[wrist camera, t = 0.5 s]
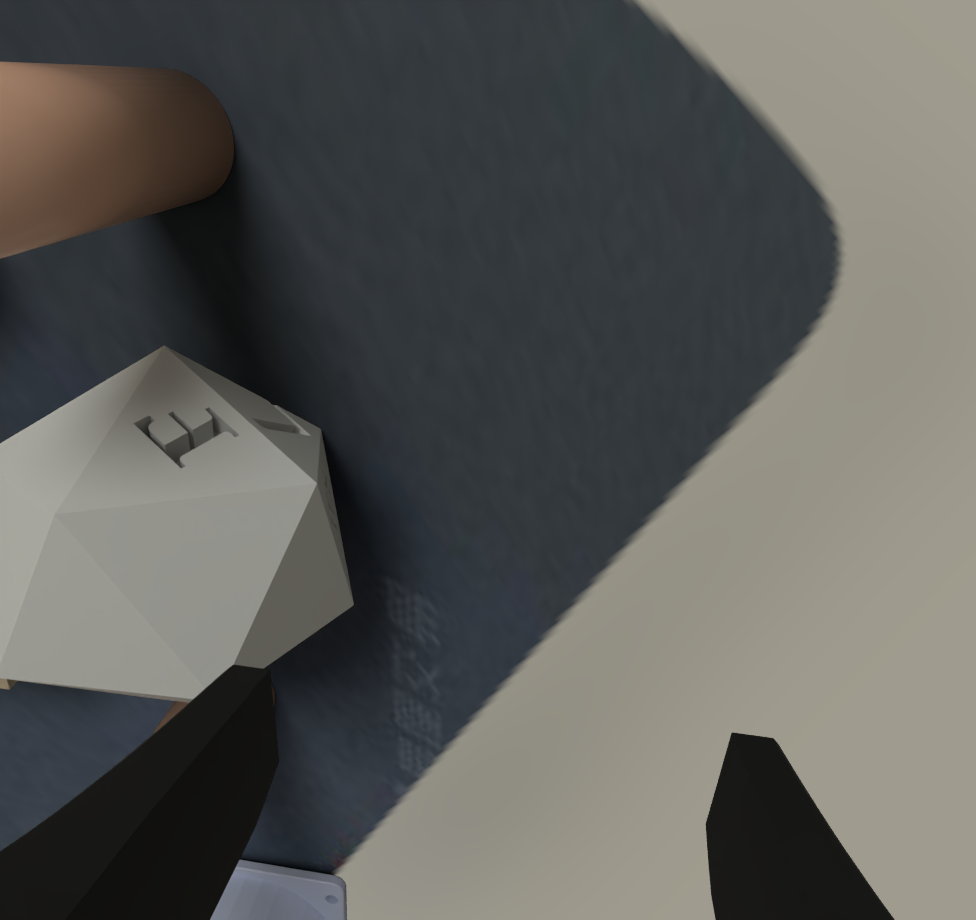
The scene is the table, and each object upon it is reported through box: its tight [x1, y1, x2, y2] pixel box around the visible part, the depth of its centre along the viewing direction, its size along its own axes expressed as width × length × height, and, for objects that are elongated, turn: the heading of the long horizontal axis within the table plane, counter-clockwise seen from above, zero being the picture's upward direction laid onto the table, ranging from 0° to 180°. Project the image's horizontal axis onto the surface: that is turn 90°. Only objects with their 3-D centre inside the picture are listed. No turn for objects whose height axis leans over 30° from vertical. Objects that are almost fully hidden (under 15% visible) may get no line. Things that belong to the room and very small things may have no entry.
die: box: [0, 346, 354, 703], centre depth 19 cm, size 8×9×10 cm
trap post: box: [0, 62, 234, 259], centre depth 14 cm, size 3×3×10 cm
